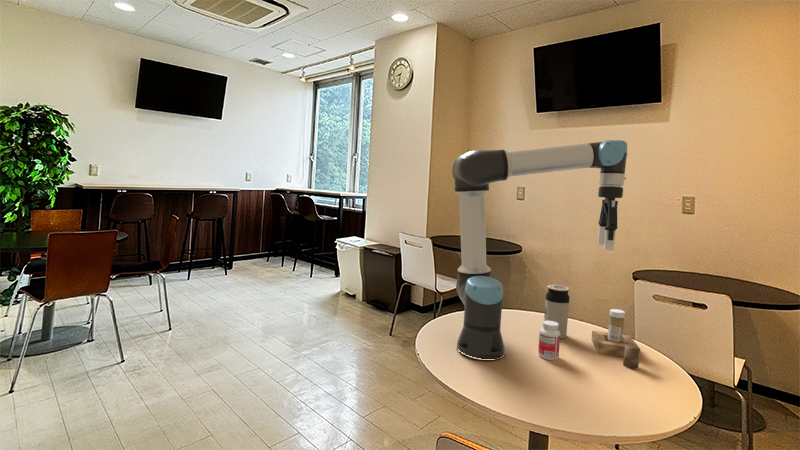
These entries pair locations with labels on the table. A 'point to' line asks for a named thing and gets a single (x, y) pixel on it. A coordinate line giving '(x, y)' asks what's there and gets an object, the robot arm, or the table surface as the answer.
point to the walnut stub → (631, 356)
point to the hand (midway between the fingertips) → (605, 247)
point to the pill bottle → (549, 340)
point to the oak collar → (610, 344)
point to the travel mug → (557, 307)
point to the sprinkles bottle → (616, 326)
